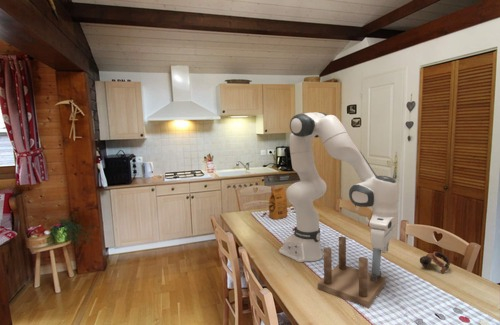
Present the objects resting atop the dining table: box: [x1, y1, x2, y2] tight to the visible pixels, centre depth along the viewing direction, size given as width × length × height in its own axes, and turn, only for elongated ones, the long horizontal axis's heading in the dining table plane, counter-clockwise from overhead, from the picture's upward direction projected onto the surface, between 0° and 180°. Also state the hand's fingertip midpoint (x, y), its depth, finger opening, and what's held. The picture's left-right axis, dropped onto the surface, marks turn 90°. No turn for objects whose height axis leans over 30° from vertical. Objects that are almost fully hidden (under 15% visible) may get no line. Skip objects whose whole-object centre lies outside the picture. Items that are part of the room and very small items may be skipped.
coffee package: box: [268, 186, 288, 221], centre depth 202 cm, size 10×12×22 cm
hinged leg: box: [371, 247, 382, 276], centre depth 112 cm, size 3×3×12 cm
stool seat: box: [317, 236, 387, 309], centre depth 112 cm, size 20×20×16 cm
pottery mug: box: [419, 251, 451, 274], centre depth 123 cm, size 12×10×8 cm
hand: (384, 251), depth 110 cm, fingers closed
